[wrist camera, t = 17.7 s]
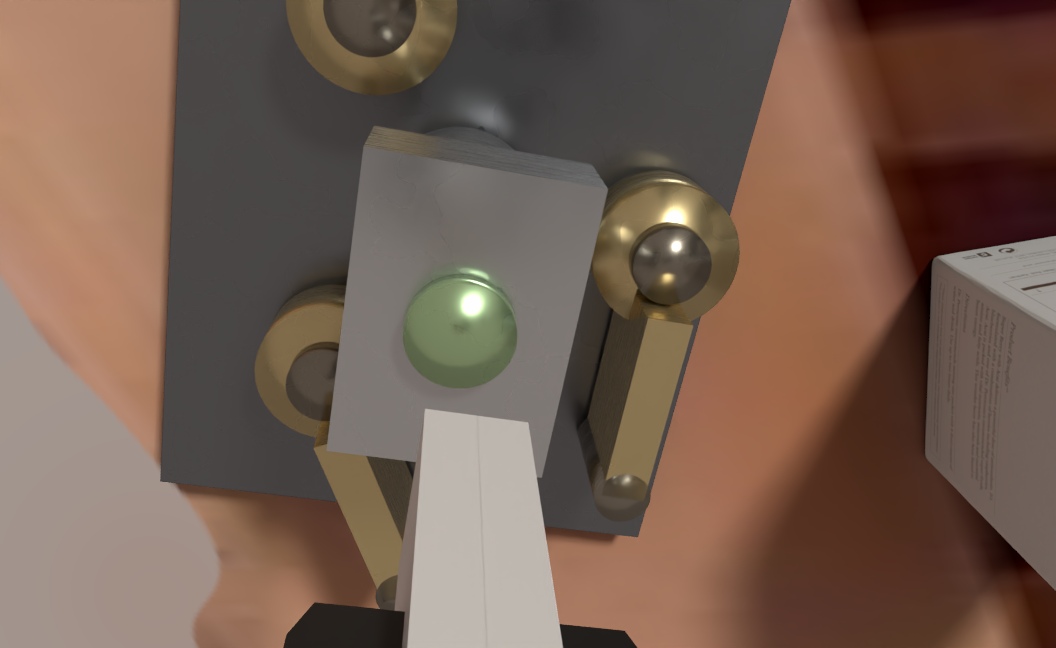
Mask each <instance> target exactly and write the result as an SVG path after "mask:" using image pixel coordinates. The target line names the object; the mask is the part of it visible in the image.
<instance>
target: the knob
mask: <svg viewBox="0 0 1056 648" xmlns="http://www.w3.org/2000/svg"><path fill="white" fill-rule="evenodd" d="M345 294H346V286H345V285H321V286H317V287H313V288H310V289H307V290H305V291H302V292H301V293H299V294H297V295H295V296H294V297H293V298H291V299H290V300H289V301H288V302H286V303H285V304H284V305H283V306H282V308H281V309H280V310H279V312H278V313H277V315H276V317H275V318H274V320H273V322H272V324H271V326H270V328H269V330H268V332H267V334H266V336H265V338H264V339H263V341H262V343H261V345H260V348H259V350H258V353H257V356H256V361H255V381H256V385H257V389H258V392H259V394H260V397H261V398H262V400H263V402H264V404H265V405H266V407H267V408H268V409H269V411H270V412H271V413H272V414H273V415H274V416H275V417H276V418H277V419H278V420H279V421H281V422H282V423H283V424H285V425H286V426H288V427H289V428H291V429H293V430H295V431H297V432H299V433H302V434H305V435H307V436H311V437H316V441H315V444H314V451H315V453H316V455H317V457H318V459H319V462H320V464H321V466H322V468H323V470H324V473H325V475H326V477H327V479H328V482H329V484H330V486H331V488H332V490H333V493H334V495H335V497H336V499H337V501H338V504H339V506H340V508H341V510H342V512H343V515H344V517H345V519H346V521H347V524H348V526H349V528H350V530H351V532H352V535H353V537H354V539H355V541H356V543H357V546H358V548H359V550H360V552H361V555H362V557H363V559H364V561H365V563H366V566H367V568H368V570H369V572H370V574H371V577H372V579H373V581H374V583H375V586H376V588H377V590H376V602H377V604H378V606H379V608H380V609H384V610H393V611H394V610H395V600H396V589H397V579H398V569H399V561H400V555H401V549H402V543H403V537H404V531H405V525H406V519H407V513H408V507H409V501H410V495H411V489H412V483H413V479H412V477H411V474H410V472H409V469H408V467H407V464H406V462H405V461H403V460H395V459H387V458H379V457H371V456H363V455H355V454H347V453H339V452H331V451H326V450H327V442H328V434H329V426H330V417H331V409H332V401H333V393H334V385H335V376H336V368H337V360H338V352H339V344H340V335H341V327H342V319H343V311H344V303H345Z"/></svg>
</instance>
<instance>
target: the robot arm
mask: <svg viewBox="0 0 1056 648" xmlns="http://www.w3.org/2000/svg"><path fill="white" fill-rule="evenodd" d="M283 648H637V647H636V645H635V644H634V643H633V641H632V640H631V639H630V637H629V636H628V635H627V633H626V632H625V631H621V630H611V629H601V628H592V627H582V626H572V625H562V624H559V619H558V612H557V606H556V599H555V593H554V586H553V580H552V573H551V567H550V560H549V554H548V547H547V541H546V534H545V528H544V521H543V515H542V508H541V502H540V496H539V489H538V483H537V476H536V470H535V463H534V457H533V450H532V444H531V437H530V431H529V424H528V422H521V421H514V420H506V419H499V418H491V417H484V416H476V415H469V414H461V413H454V412H446V411H439V410H431V409H425V411H424V417H423V423H422V429H421V435H420V441H419V447H418V453H417V459H416V465H415V471H414V477H413V483H412V489H411V495H410V501H409V507H408V513H407V519H406V525H405V531H404V537H403V543H402V549H401V555H400V561H399V569H398V579H397V589H396V600H395V610H394V611H393V610H384V609H374V608H364V607H354V606H344V605H334V604H324V603H314V604H313V605H312V606H311V607H310V608H309V610H308V611H307V612H306V613H305V614H304V615H303V616H302V618H301V619H300V620H299V621H298V622H297V623H296V624H295V626H294V627H293V628H292V629H291V630H290V631H289V632H288V634H287V635H286V639H285V643H284V647H283Z"/></svg>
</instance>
